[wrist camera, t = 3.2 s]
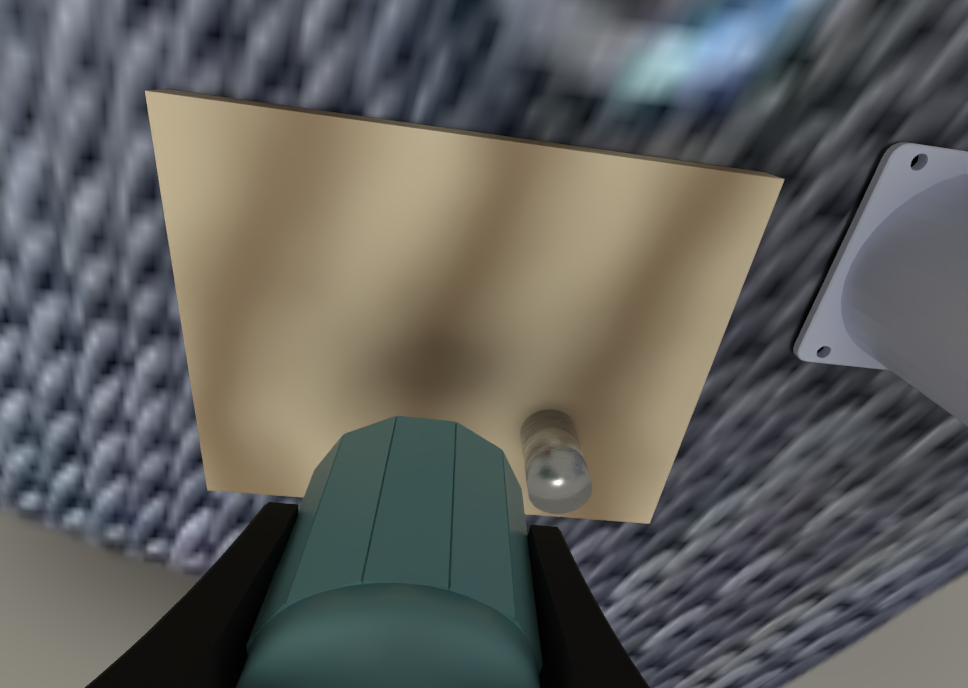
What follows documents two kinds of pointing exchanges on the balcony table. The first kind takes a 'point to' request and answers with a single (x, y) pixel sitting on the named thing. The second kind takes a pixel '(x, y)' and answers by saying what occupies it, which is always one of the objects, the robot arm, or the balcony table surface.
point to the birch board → (442, 288)
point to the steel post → (554, 463)
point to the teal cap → (403, 569)
